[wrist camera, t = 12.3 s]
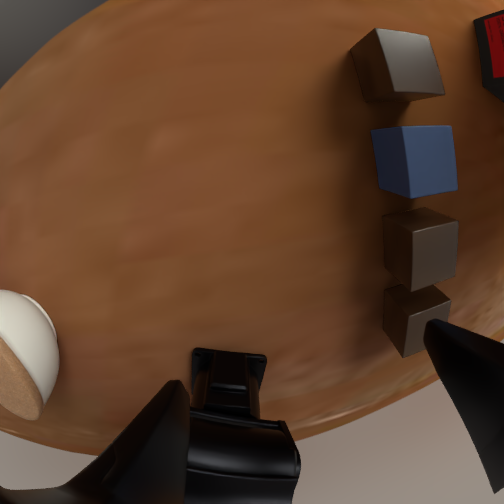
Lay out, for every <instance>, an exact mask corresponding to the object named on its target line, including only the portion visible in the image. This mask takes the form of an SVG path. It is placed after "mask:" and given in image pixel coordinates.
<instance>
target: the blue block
mask: <svg viewBox="0 0 504 504" xmlns="http://www.w3.org/2000/svg"><path fill="white" fill-rule="evenodd" d="M371 136H372V142H373V148H374V154H375V160H376V167H377V174H378V182H379V188H380V189H383V190H386V191H389V192H392V193H395V194H398V195H401V196H404V197H407V198H410V199H412V198H418V197H423V196H429V195H434V194H440V193H445V192H451V191H457V190H458V185H457V169H456V159H455V149H454V142H453V135H452V128H451V126H443V125H435V126H401V127H391V128H383V129H375V130H371Z"/></svg>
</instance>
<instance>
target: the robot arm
mask: <svg viewBox="0 0 504 504" xmlns="http://www.w3.org/2000/svg"><path fill="white" fill-rule="evenodd" d="M423 342H424V345H425V347H426V350H427V352H428V354H429V356H430V358H431V360H432V363H433V365H434V367H435V369H436V372H437V374H438V376H439V377H440V379H441V381H442V382H443V385H444V386H445V388H446V390H447V392H448V394H449V395H450V397H451V399H452V401H453V403H454V405H455V407H456V408H457V410H458V412H459V414H460V416H461V418H462V420H463V422H464V424H465V426H466V428H467V430H468V432H469V434H470V436H471V439H472V441H473V443H474V445H475V447H476V449H477V452H478V454H479V457H480V459H481V462H482V464H483V466H484V469H485V471H486V474H487V477H488V479H489V481H490V485H491V487H492V489H493V492H494V494H495V493H497V492H498V491H499V490H500V489H502V488H504V344H503V343H501V342H498V341H495V340H493V339H490V338H487V337H485V336H482V335H479V334H477V333H474V332H471V331H469V330H466V329H464V328H461V327H458V326H456V325H453V324H450V323H448V322H445V321H442V320H440V319H437V318H435V319H432V320H429V321H427V323H426V325H425V331H424V336H423ZM197 353H200V354H197ZM259 360H262V361H259ZM266 363H267V358H266V356H265V355H260V354H249V353H239V352H229V351H221V350H213V349H205V348H195V349H193V353H192V395H193V396H192V402H191V407H190V398H189V394H188V392H187V391H186V389H185V387H184V385H183V384H182V382H181V381H180V380H170V381H168V382H167V383H166V384H165V385H164V386H163V387H162V389H161V390H160V391H159V392H158V393H157V394H156V395H155V396H154V397H153V398H152V400H151V401H150V402H149V403H148V404H147V405H146V406H145V407H144V408H143V409H142V411H141V412H140V413H139V414H138V415H137V416H136V417H135V418H134V419H133V420H132V421H131V422H130V424H129V425H128V426H127V427H126V428H125V429H124V430H123V431H122V432H121V433H120V434H119V435H118V436H117V438H116V439H115V440H114V441H113V442H112V443H111V444H110V445H109V446H108V447H107V448H106V449H105V450H104V451H103V452H102V453H101V454H100V455H99V456H98V457H97V458H96V459H95V460H94V461H93V462H91V463H90V464H89V465H88V466H87V467H86V468H84V469H83V470H82V471H81V472H80V473H78V474H77V475H76V476H75V477H73V478H72V479H71V480H70V481H68V482H67V483H65V484H64V485H61V486H59V487H54V488H46V489H31V490H10V489H5V488H3V487H1V486H0V504H292V498H293V494H294V490H295V487H296V484H297V482H298V478H299V475H300V470H301V459H300V454H299V451H298V449H297V447H296V445H295V442H294V440H293V438H292V436H291V434H290V431H289V429H288V427H287V425H286V422H285V421H281V420H278V421H271V420H262V419H260V406H259V390H260V386H261V382H262V379H263V375H264V371H265V367H266Z"/></svg>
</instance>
